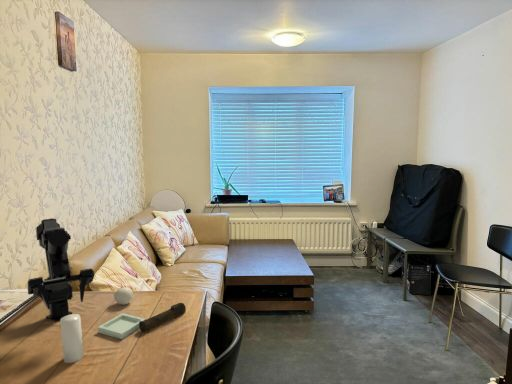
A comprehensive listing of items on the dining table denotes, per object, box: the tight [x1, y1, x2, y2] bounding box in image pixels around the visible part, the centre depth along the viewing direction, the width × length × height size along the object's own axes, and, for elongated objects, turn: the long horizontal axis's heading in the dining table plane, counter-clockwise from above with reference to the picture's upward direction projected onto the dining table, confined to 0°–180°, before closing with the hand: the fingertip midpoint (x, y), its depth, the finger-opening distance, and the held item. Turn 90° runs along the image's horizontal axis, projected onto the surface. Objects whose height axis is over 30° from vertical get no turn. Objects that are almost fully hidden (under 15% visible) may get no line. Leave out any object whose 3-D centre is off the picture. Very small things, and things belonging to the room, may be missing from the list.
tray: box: [97, 313, 146, 340], centre depth 121 cm, size 11×11×2 cm
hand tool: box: [139, 302, 187, 334], centre depth 125 cm, size 19×4×5 cm, turn 139°
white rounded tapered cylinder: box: [59, 313, 84, 364], centre depth 103 cm, size 5×5×12 cm
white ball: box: [113, 286, 134, 306], centre depth 141 cm, size 7×7×7 cm
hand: (65, 305), depth 110 cm, fingers open, 9 cm apart
